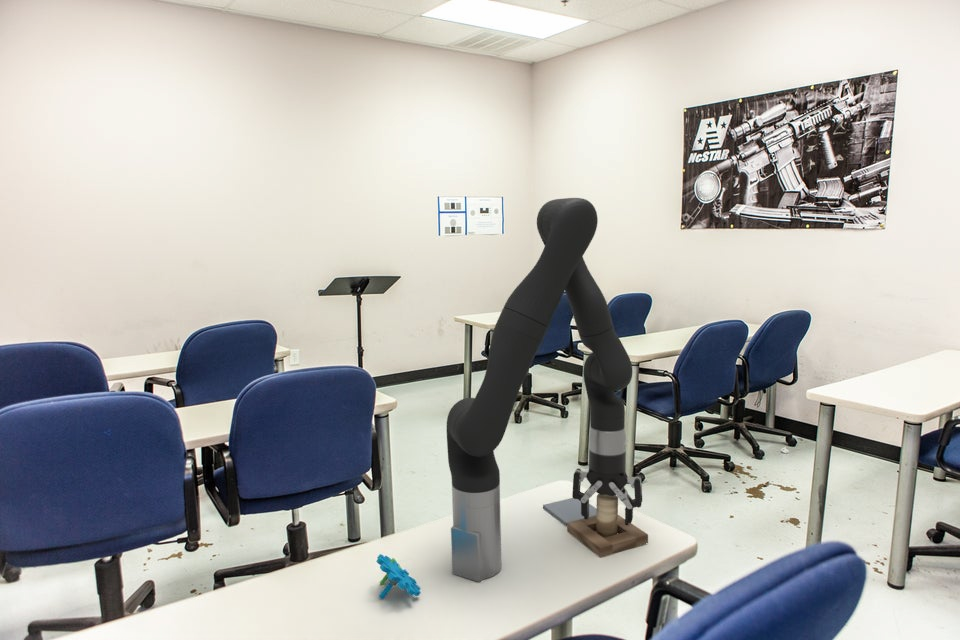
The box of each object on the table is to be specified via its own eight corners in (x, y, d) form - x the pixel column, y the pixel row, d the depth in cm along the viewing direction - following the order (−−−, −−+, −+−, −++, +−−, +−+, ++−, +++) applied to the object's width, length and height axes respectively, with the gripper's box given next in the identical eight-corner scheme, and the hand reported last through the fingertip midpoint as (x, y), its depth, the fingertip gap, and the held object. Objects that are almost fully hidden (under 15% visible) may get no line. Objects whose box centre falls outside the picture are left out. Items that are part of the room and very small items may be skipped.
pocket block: (647, 543, 124) (648, 534, 124) (600, 557, 119) (600, 548, 119) (612, 519, 135) (612, 510, 135) (567, 531, 130) (567, 522, 130)
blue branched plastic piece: (427, 598, 105) (384, 564, 103) (405, 626, 104) (360, 593, 102) (417, 572, 115) (378, 542, 114) (397, 598, 114) (357, 567, 113)
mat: (603, 516, 137) (603, 513, 136) (566, 526, 132) (566, 522, 132) (578, 499, 146) (578, 496, 146) (542, 508, 142) (542, 504, 141)
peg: (613, 544, 124) (614, 503, 123) (593, 539, 127) (593, 499, 125) (620, 535, 128) (620, 495, 127) (600, 530, 130) (600, 491, 129)
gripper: (569, 450, 123) (569, 524, 126) (640, 457, 119) (639, 534, 121) (576, 438, 130) (576, 508, 133) (644, 444, 125) (643, 517, 128)
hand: (606, 520), depth 127 cm, fingers open, 8 cm apart
